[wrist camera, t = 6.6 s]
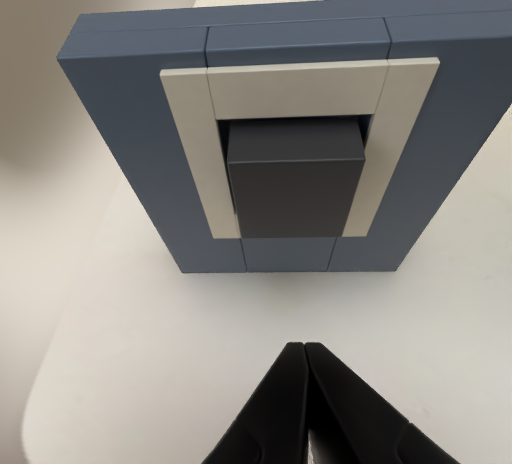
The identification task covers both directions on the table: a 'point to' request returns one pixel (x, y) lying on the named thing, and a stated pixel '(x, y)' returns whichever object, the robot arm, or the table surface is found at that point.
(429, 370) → the table surface
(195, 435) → the table surface
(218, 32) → the wall panel
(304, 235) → the switch button
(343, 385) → the robot arm
